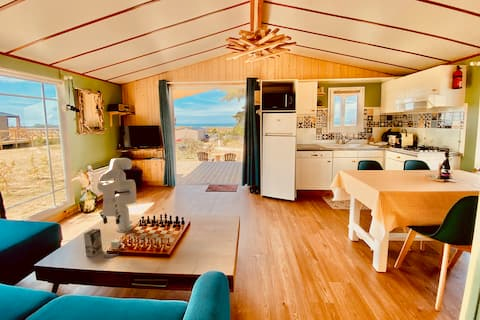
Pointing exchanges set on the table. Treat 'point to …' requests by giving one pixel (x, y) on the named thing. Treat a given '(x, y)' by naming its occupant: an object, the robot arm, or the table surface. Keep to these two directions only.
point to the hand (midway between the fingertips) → (111, 223)
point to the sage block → (116, 243)
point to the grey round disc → (110, 255)
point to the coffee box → (93, 242)
